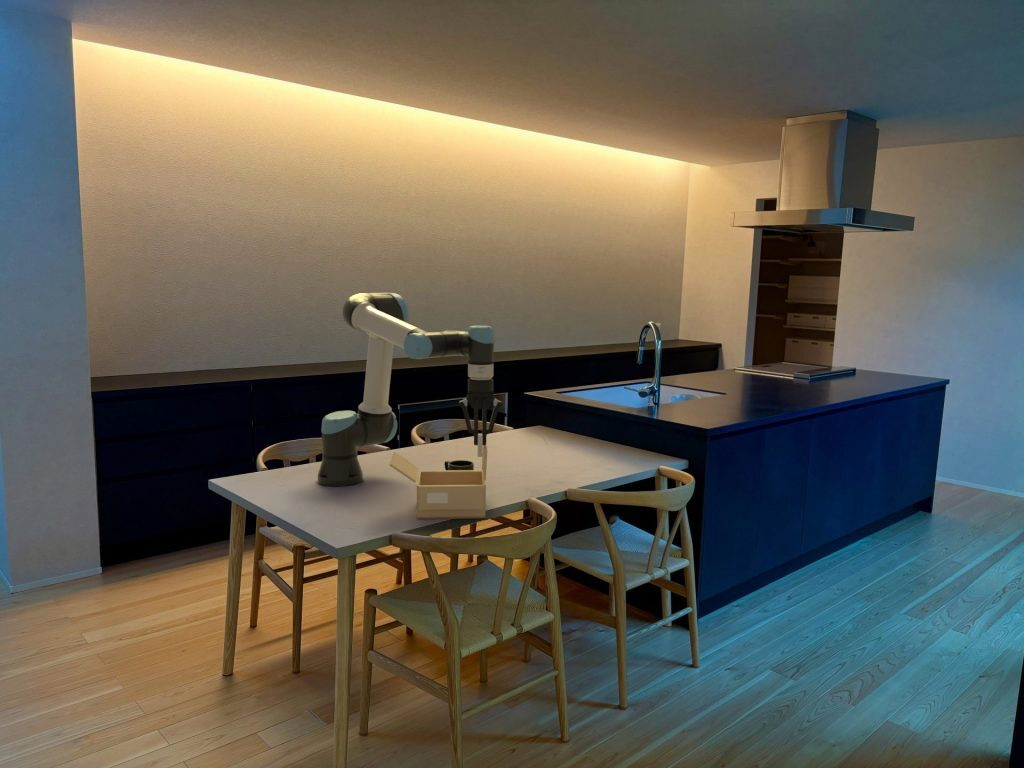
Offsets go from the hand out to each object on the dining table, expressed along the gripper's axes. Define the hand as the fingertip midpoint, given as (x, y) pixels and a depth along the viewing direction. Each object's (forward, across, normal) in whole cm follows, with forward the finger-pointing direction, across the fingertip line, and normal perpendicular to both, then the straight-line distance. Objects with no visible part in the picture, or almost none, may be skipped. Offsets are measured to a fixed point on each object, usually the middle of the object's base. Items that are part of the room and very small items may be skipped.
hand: (479, 455), depth 221 cm
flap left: (+6, -18, 0) cm, 19 cm away
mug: (+17, -7, +21) cm, 28 cm away
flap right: (+6, +1, 0) cm, 7 cm away
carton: (+17, -8, 0) cm, 19 cm away
